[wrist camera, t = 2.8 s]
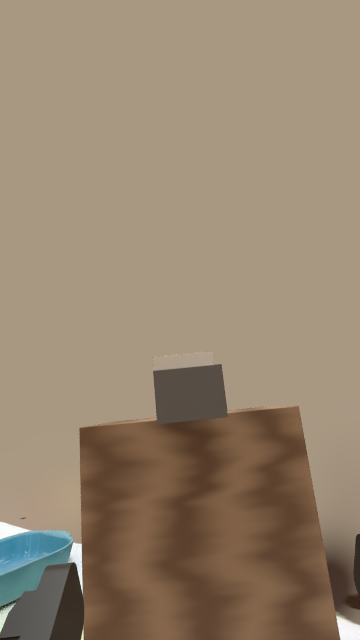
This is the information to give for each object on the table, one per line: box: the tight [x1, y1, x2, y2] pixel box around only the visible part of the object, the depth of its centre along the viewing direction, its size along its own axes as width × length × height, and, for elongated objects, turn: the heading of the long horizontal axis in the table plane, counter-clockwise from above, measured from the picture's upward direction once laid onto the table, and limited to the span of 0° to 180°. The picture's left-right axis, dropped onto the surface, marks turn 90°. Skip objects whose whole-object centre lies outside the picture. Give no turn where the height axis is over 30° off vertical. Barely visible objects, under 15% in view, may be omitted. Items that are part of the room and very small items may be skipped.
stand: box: [80, 406, 340, 640], centre depth 31 cm, size 18×14×32 cm
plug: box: [153, 351, 228, 424], centre depth 29 cm, size 6×19×6 cm, turn 0°
